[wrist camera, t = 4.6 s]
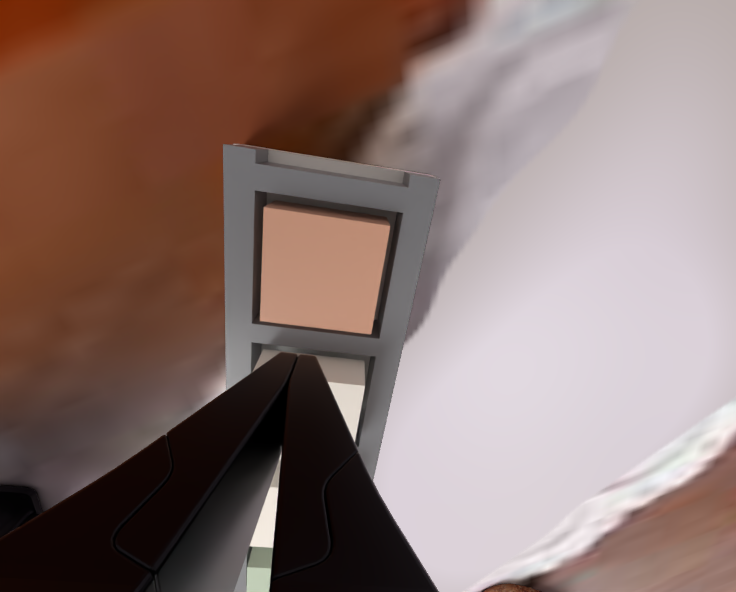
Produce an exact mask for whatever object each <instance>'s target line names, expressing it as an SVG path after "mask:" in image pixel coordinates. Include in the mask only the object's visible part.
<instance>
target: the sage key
mask: <svg viewBox="0 0 736 592" xmlns="http://www.w3.org/2000/svg"><path fill="white" fill-rule="evenodd" d="M272 553H273V548H269V547H252V551H251V554H250V558H249V562H248V566H247V592H269V587H270V575H271V564H272Z"/></svg>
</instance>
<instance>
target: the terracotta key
mask: <svg viewBox="0 0 736 592" xmlns="http://www.w3.org/2000/svg"><path fill="white" fill-rule="evenodd" d="M389 232H390V224H389V221H388V219H387V217H384V216H377V215H370V214H364V213H357V212H350V211H344V210H337V209H331V208H324V207H317V206H311V205H304V204H297V203H291V202H284V201H277V200H275V201H273V202H271V203H270V204H268V205H266V206H265V207H264V210H263V241H262V272H261V303H260V321H264V322H272V323H280V324H289V325H297V326H305V327H314V328H322V329H330V330H338V331H347V332H355V333H363V334H371V332H372V327H373V321H374V316H375V310H376V304H377V299H378V293H379V288H380V282H381V276H382V271H383V265H384V260H385V254H386V249H387V243H388V237H389Z"/></svg>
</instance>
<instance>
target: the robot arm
mask: <svg viewBox="0 0 736 592" xmlns="http://www.w3.org/2000/svg"><path fill="white" fill-rule="evenodd" d="M280 455H281V463H280V475H279V486H278V497H277V508H276V519H275V530H274V541H273V553H272V564H271V575H270V587H269V592H439V591H438V590H437V588H436V586H435V585H434V583H433V582H432V580H431V578H430V576H429V575H428V573H427V572H426V570H425V568H424V567H423V565H422V564H421V562H420V560H419V559H418V557H417V556H416V554H415V552H414V551H413V549H412V547H411V546H410V545H409V542H408V541H407V539H406V538H405V536H404V534H403V533H402V531H401V530H400V528H399V526H398V525H397V523H396V521H395V520H394V518H393V517H392V515H391V513H390V511H389V510H388V508H387V506H386V504H385V503H384V501H383V500H382V498H381V496H380V494H379V492H378V490H377V488H376V486H375V485H374V483H373V480H372V478H371V476H370V474H369V472H368V470H367V468H366V466H365V464H364V461H363V459H362V457H361V455H360V454H359V451H358V448H357V446H356V444H355V442H354V440H353V437H352V435H351V433H350V431H349V428H348V426H347V424H346V422H345V419H344V417H343V415H342V413H341V411H340V408H339V406H338V404H337V402H336V399H335V397H334V395H333V393H332V390H331V388H330V386H329V384H328V382H327V379H326V377H325V375H324V373H323V370H322V368H321V366H320V364H319V362H318V359H317V357H316V356H313V355H304V354H300V355H299V356H298V355H297V354H295V353H287V352H280V353H278V354H277V355H276V356H274V357H273V358H271V359H270V360H269V361H267V362H266V363H264V364H263V365H262V366H260V367H259V368H257V369H256V370H254V371H253V372H252V373H250V374H249V375H247V376H246V377H245V378H243V379H242V380H240V381H239V382H238V383H236V384H235V385H233V386H232V387H231V388H229V389H228V390H226V391H225V392H224V393H222V394H221V395H219V396H218V397H216V398H215V399H214V400H212V401H211V402H209V403H208V404H207V405H205V406H204V407H202V408H201V409H200V410H198V411H197V412H195V413H194V414H193V415H191V416H190V417H188V418H187V419H186V420H184V421H183V422H181V423H180V424H178V425H177V426H176V427H174V428H173V429H171V430H170V431H169V432H167V436H166V435H163V436H161V437H160V438H158V439H157V440H156V441H154V442H153V443H151V444H150V445H149V446H147V447H146V448H144V449H143V450H141V451H140V452H138V453H137V454H135V455H134V456H133V457H131V458H130V459H128V460H127V461H125V462H124V463H122V464H121V465H119V466H118V467H116V468H115V469H113V470H112V471H110V472H108V473H107V474H105V475H104V476H102V477H100V478H99V479H97V480H96V481H94V482H92V483H91V484H89V485H88V486H86V487H84V488H83V489H81V490H80V491H78V492H76V493H75V494H73V495H71V496H70V497H68V498H66V499H65V500H63V501H61V502H60V503H58V504H56V505H55V506H53V507H51V508H50V509H48V510H46V511H45V512H42V509H41V506H40V503H39V499H38V496H37V493H36V492H35V491H34V490H33V489H31V488H24V487H10V486H0V592H234V590H235V587H236V584H237V581H238V578H239V575H240V572H241V569H242V567H243V564H244V561H245V558H246V555H247V552H248V549H249V546H250V543H251V540H252V537H253V534H254V532H255V529H256V526H257V523H258V520H259V517H260V514H261V511H262V508H263V505H264V502H265V500H266V497H267V494H268V491H269V488H270V485H271V482H272V479H273V476H274V473H275V470H276V467H277V465H278V462H279V458H280Z"/></svg>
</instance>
